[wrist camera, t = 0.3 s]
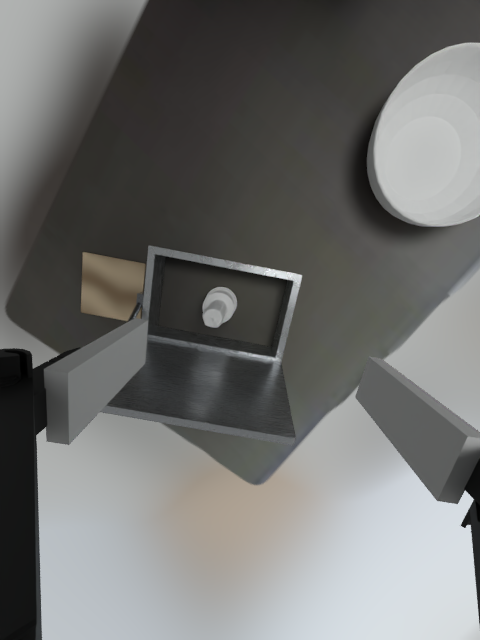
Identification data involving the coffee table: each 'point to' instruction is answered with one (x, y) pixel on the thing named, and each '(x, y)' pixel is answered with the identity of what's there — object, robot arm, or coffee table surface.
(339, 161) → the coffee table surface
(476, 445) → the robot arm
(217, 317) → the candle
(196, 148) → the coffee table surface
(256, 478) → the coffee table surface
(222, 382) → the case
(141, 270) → the mat
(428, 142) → the bowl
